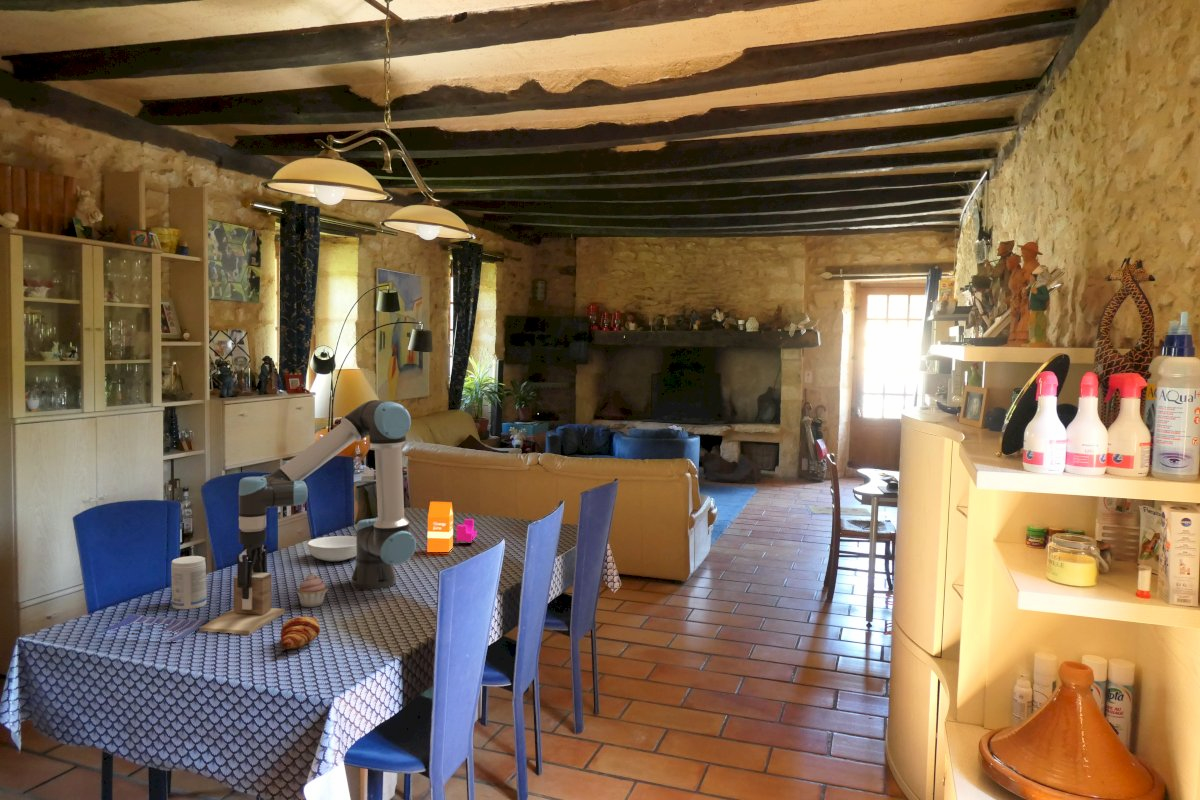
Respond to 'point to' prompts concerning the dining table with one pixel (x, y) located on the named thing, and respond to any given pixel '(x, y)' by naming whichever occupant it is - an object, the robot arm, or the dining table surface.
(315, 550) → the serving bowl
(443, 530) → the orange juice
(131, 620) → the dish towel
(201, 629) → the board
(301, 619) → the croissant
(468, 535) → the toy block
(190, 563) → the supplement tub
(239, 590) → the wooden block
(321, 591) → the cupcake
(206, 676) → the dining table surface
